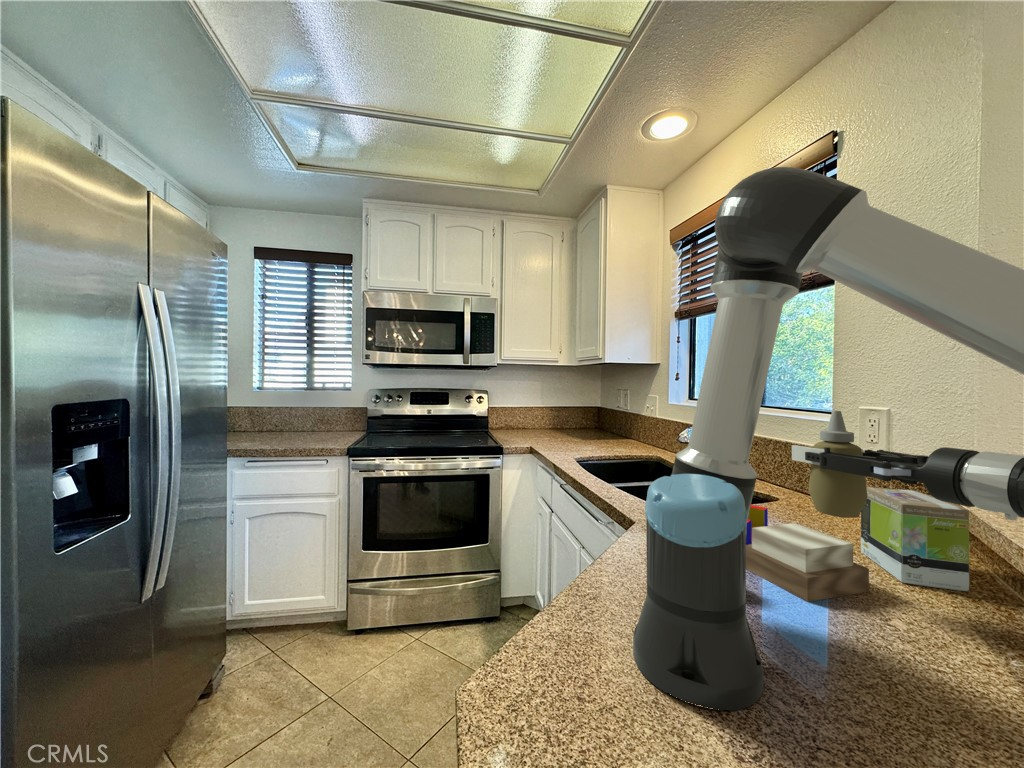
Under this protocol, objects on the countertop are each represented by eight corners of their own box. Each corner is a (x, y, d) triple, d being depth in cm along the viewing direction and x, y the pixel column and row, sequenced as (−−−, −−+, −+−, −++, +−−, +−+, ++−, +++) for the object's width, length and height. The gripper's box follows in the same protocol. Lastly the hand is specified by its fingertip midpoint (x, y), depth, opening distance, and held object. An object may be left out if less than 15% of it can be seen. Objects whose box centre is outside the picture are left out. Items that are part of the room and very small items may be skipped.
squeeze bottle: (862, 511, 70) (862, 410, 70) (873, 524, 63) (872, 413, 64) (806, 504, 75) (806, 409, 75) (810, 515, 68) (809, 411, 68)
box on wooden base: (807, 601, 66) (807, 554, 66) (739, 565, 80) (739, 525, 80) (869, 591, 70) (868, 545, 70) (794, 558, 83) (793, 520, 83)
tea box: (973, 593, 69) (972, 508, 69) (900, 584, 72) (899, 503, 73) (917, 558, 83) (916, 488, 84) (858, 552, 87) (858, 484, 87)
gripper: (925, 513, 49) (766, 474, 72) (1027, 503, 54) (848, 469, 76) (924, 453, 49) (766, 432, 72) (1027, 448, 54) (848, 430, 76)
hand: (808, 451), depth 74 cm, fingers closed on squeeze bottle, 6 cm apart
